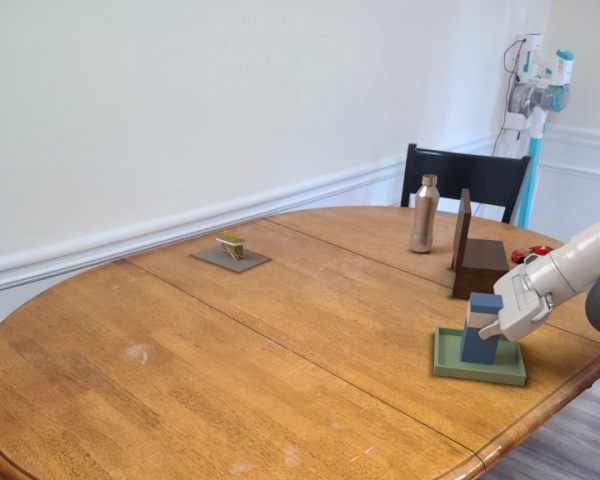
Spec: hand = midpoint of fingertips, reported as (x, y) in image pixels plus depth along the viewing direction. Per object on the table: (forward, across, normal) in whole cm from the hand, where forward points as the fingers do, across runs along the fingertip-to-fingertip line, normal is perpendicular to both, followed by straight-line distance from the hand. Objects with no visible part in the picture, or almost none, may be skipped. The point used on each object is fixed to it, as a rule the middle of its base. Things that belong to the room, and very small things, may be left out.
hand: (479, 326), depth 106 cm
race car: (-8, +56, -18) cm, 60 cm away
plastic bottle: (+14, +57, +4) cm, 59 cm away
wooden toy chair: (+4, +37, -6) cm, 38 cm away
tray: (+4, 0, -5) cm, 7 cm away
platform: (+49, +40, +39) cm, 74 cm away
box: (+4, 0, -5) cm, 6 cm away
